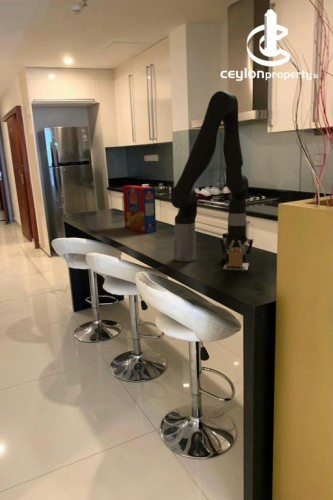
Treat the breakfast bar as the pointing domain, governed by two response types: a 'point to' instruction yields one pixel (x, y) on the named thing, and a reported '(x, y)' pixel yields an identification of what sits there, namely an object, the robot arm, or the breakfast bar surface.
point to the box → (226, 246)
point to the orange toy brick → (236, 257)
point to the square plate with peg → (236, 267)
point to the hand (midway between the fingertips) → (236, 262)
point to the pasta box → (139, 208)
